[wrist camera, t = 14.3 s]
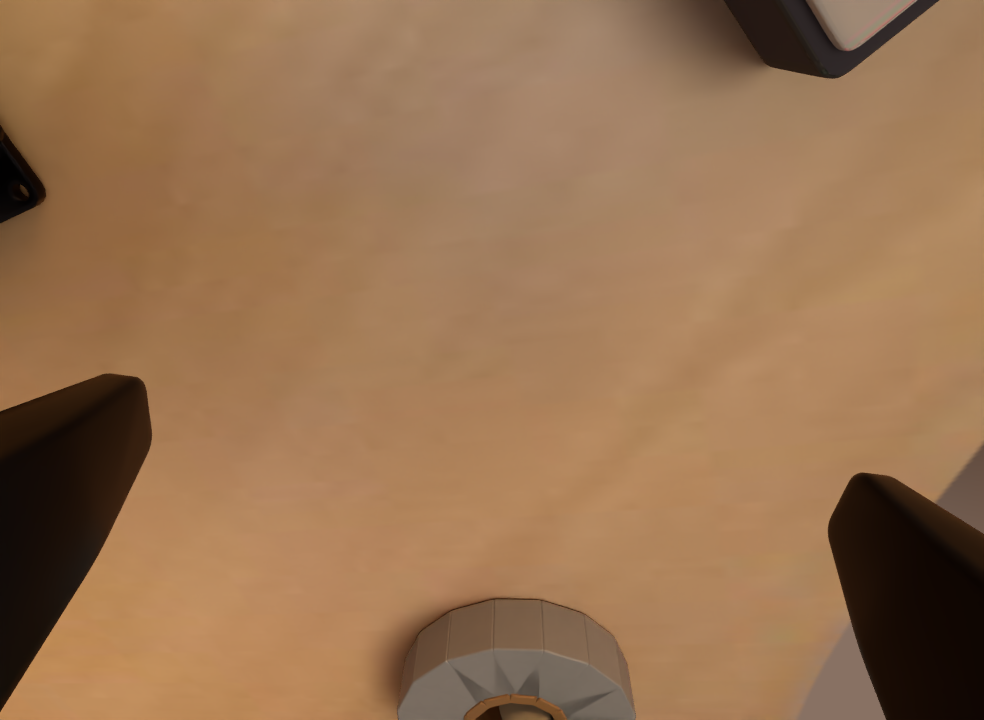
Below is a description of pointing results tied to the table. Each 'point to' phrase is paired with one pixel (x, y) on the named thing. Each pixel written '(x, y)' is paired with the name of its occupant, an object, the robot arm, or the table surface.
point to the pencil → (523, 712)
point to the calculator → (822, 30)
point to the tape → (515, 665)
